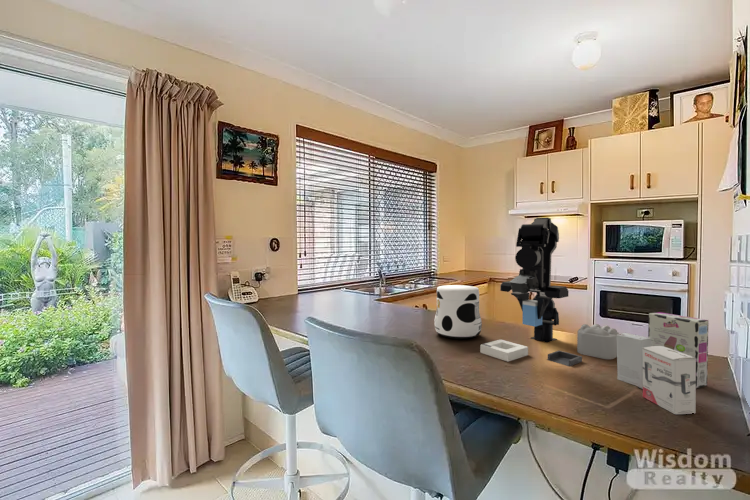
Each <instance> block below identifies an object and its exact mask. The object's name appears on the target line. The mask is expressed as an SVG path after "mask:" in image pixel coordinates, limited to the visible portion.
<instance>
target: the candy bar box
mask: <svg viewBox="0 0 750 500" xmlns="http://www.w3.org/2000/svg"><path fill="white" fill-rule="evenodd" d="M647 325H648V327H647V328H648V331H647V332H648V335H647V337H648V338H651V346H663V347H667V348H670V349H672V350H675V351H678V352H681V353H684V354H687V355H689V356H692V357H694V359H696V389H699V388H704V387H707V386H708V369H709V368H708V366H709V365H708V363H709V360H708V359H709V357H708V356H709V350H708V349H709V319H703V318H698V317H693V316H692V317H691V316H686V315H678V314H673V313H667V312H661V311H659V312H658V311H656V312H650V313H648V324H647Z"/></svg>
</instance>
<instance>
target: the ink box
mask: <svg viewBox="0 0 750 500" xmlns="http://www.w3.org/2000/svg"><path fill="white" fill-rule="evenodd" d="M642 351H643V389H642V398H644V399H646V400H648V401H650V402H652V403H653V404H655V405H657V406H658V407H660V408H662V409H664V410H667V411H668V412H670V413H672V414H674V415H686V414H687V415H690V414H692V413H694V414H696V413H697V412H696V411H697V409H696V408H697V407H696V404H697V403H696V400H697V399H696V398H697V397H696V394H697V393H696V389H697V388H696V359H694V357H692V356H689V355H687V354H684V353H681V352H678V351H675V350H672V349H670V348H667V347H663V346H651V347H643V350H642Z"/></svg>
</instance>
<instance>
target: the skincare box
mask: <svg viewBox="0 0 750 500" xmlns="http://www.w3.org/2000/svg"><path fill="white" fill-rule="evenodd" d="M643 347H651V338H648V336H642V335H637V334H633V333H630V332H624V333H619V334H618V335H617V357H616V361H617V363H616V364H617V365H616V367H617V380H618V381H621V382H623V383H627V384H629V385H633V386H636V387H638V388H639V389H642V390H643V351H642V350H643Z"/></svg>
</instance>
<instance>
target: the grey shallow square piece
mask: <svg viewBox="0 0 750 500" xmlns="http://www.w3.org/2000/svg"><path fill="white" fill-rule="evenodd" d="M546 361H549V362H553V363H557V364H559V365H563V366H567V367H572V366H574V365H578V364H579V363H582V362H583V355H579V354H574V353H570V352H566V351H564V350H556V351H554V352H550V353H547V359H546Z"/></svg>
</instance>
